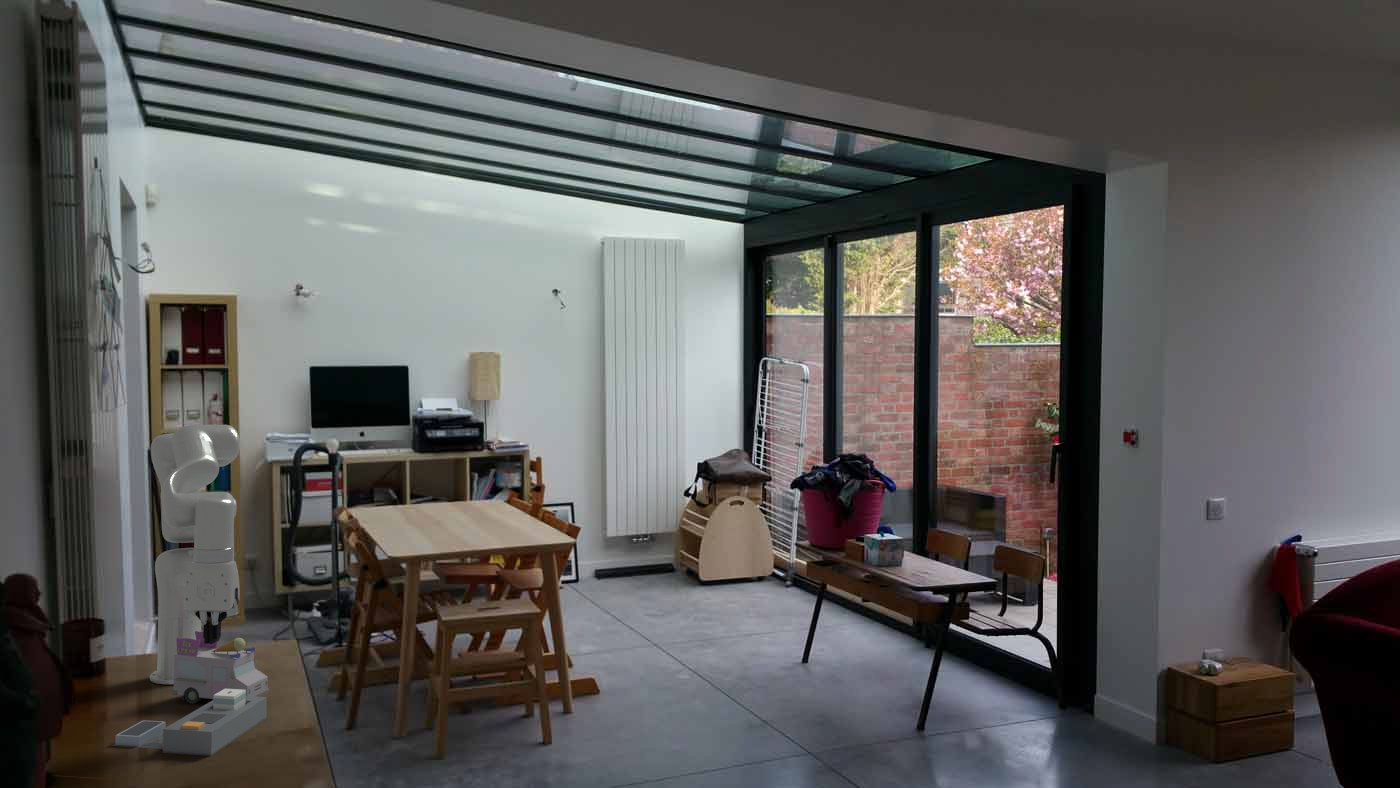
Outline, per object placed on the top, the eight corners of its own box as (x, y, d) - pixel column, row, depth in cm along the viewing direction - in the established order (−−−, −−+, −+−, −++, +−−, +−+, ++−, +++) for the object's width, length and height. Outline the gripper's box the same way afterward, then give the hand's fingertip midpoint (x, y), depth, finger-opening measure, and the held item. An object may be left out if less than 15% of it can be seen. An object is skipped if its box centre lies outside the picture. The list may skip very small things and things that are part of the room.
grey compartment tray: (222, 717, 226) (222, 691, 226) (266, 719, 226) (266, 694, 226) (162, 754, 204) (163, 725, 204) (211, 757, 204) (211, 728, 204)
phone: (142, 729, 217) (142, 720, 217) (165, 730, 216) (165, 721, 216) (115, 744, 208) (115, 735, 208) (139, 746, 207) (139, 736, 207)
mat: (141, 729, 217) (141, 728, 217) (196, 733, 216) (196, 731, 216) (111, 746, 207) (111, 745, 207) (168, 750, 206) (168, 748, 206)
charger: (224, 720, 222) (225, 688, 222) (245, 721, 222) (245, 689, 222) (212, 728, 218) (213, 695, 218) (233, 729, 218) (234, 696, 217)
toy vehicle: (245, 712, 230) (247, 645, 230) (169, 703, 234) (170, 637, 234) (270, 699, 239) (272, 635, 239) (196, 691, 243) (197, 628, 243)
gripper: (169, 557, 215) (167, 645, 215) (239, 560, 214) (237, 648, 214) (188, 551, 222) (187, 636, 223) (256, 554, 221) (255, 639, 222)
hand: (211, 641), depth 218 cm, fingers closed
